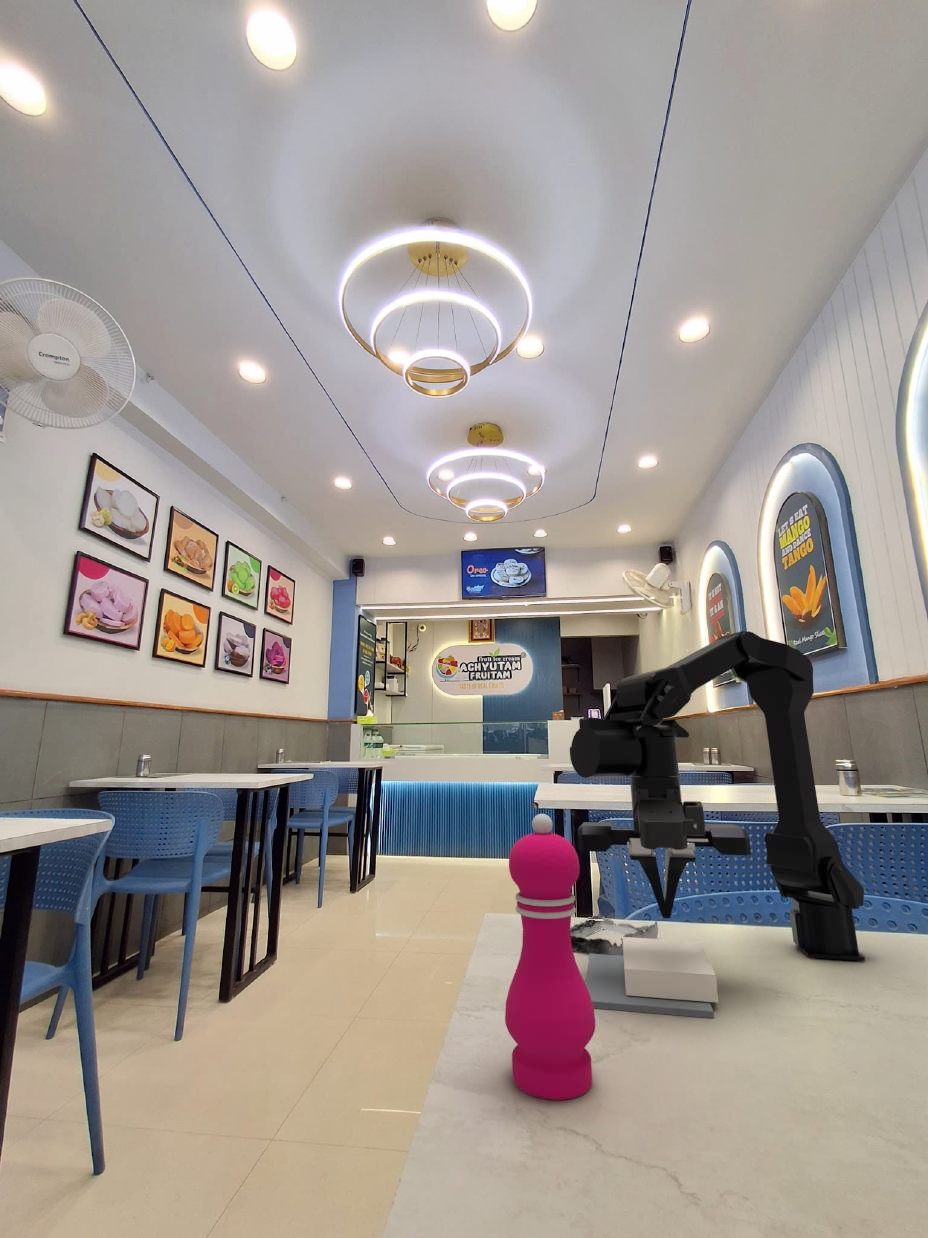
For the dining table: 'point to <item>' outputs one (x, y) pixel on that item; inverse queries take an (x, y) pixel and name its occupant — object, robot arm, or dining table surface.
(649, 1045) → the dining table surface
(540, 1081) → the pepper mill
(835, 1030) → the dining table surface
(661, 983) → the ceramic tile
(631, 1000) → the slate mat
